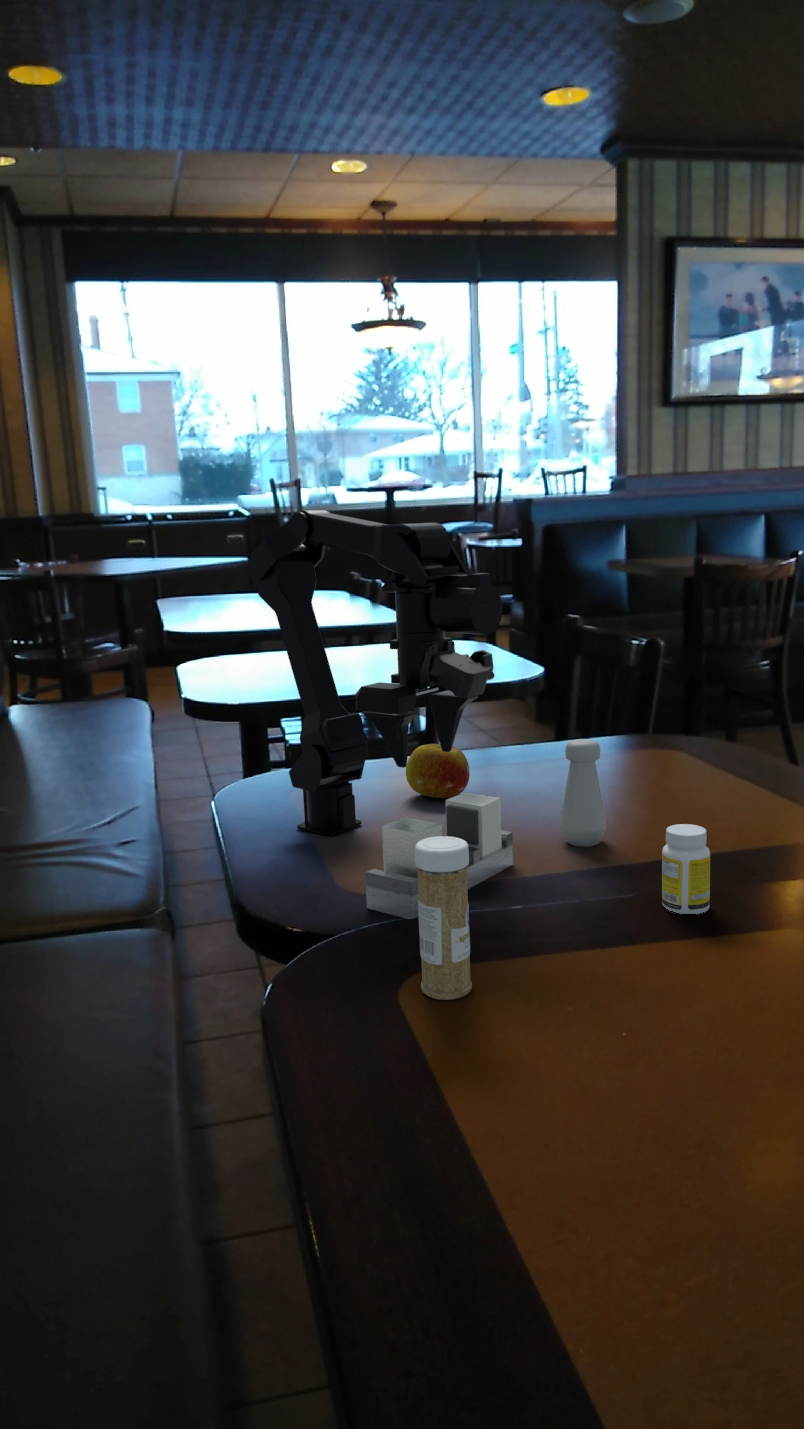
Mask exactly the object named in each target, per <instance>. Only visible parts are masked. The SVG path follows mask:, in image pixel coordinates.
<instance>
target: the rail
mask: <svg viewBox="0 0 804 1429" xmlns="http://www.w3.org/2000/svg"><path fill="white" fill-rule="evenodd" d="M381 834H382V835H381V836H382V860H383V864H382V865H383V870H381V869H376V868H371V869H370V870H368V871H366V886H365V894H366V895H365V897H366V909H368V910H372V911H376V912H380V913H383V914H388V915H391V916H395V917H400V918H403V919H407V920H410V919H413V918H415V919H416V918H419V911H418V898H419V894H418V871H417V866H416V864H415V846H416V844H417V843H418V842H419V841H421V840H423V839H426V838H430V837H438V836H443V823H438V822H433V821H430V820H423V819H418V818H412V817H407V816H404V817H401V818H399V819H396V820H394V821H391V822H389V823H386V824H384V825H381ZM501 837H502V848H500V849H498V850H496V851H494V852H492V853H490V854H488V855H486V856H484V857H480V849H479V848H474V847H469V846H468V849H469V864H468V865H467V867H468V868H467V890H470V889H471V888H473V887H474V886H477V885H478V884H480V883H482V882H484V881H486V880H488V879H490V878H491V877H493V876H495V875H497V874H498V873H500V872H502V871H504V870H506V869H508V868H509V867H511V866H513V865H514V847H513V844H514V840H513V839H514V838H513V837H514V836H513V831H508V830H503V829H501ZM413 920H414V919H413Z"/></svg>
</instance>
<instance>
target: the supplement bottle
mask: <svg viewBox="0 0 804 1429" xmlns="http://www.w3.org/2000/svg"><path fill="white" fill-rule="evenodd" d="M665 830H666V831H665V843H666V844H665V845H664V846H663V848H662V851H661V860H662V861H661V883H662V884H661V889H662V890H661V904H662V907H663V906H664V907H665V908H666V909H668V910H669V911H668V910H667V911H668V912H670V911H673V912H676V913H679V915H683V914H696V915H701V914H704V913H706V912H707V911H709V909H710V906H711V905H710V904H711V900H710V899H711V851H710V849H709V848H708V846H706V845H707V840H708V839H707V829H706V828H704V827H702V826H700V825H697V824H690V823H682V824H680V823H679V824H672V825H670V826H668V827H667V828H666V829H665ZM664 907H663V908H664ZM665 908H664V909H665ZM666 909H665V910H666ZM673 912H672V913H673ZM703 912H704V913H703ZM676 913H675V914H676ZM700 913H701V914H700Z"/></svg>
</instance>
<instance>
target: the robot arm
mask: <svg viewBox="0 0 804 1429" xmlns="http://www.w3.org/2000/svg"><path fill="white" fill-rule="evenodd" d="M326 547H330V548H336V549H341V550H344V551H349V552H352V553H357V554H362V555H364V556H365V555H366V556H369V557H371V558H373V559H374V560H375V561H376V562H377V564H378V565H379V566H382V567H383V568H385V569H387V570H389V571H390V572H391V571H392V572H393V573H392V574H391V577H389V579H388V580H387V581H386V582H384V583H383V585H382V586H381V592H383V593H395V594H394V595H395V596H394V597H395V598H394V599H395V618H396V619H395V623H396V639H391V640H389V649H390V650H396V652H397V653H396V654H397V669H398V670H397V672H396V673H394V674H391V675H390V682H379V681H378V682H375V683H372V684H371V683H370V684H368V685H362V686H360V687H359V689H358V690H357V691H356V692H355V708H356V709H355V710H356V711H358V712H363V717H368V718H369V719H370V721H371V723H372V724H373V725H374V728H376V730H377V731H378V733H379V735H380V737H381V738H382V740H383V742H384V744H385V746H386V748H387V750H388V752H389V753H390V755H391V756H392V759H393V761H394V763H395V764H396V766H397V767H398V768H403V769H404V768H406V766H407V762H408V758H409V757H408V756H409V753H408V752H409V729H410V728H409V727H410V723H411V722H412V721H413V720H414V719H415V717H416V716H417V715H418V711H413V710H414V707H415V706H416V704H417V699H419V698H420V699H421V698H423V697H428V700H429V705H430V708H431V712H432V717H433V720H434V725H435V730H436V735H437V738H438V742H439V744H440V745H441V748H442V751H443V752H450V751H451V749H452V747H454V746H453V745H454V742H455V738H456V735H457V732H458V728H459V725H460V721H461V719H462V715H463V713H464V710H465V708H467V707H468V706H469V705H470V703H472V702H473V701H474V700H476V699H477V698H478V697H479V696H481V695H483V694H484V692H485V688H486V685H487V681H490V680H494V678H495V673H494V660H493V654H492V653H491V652H489V651H486V650H485V649H481V650H477V651H474V652H473V653H471V655H470V654H467V653H466V654H460V653H458V652H456V648H455V641H454V640H453V637H446V633H454V634H468V635H482V636H483V635H484V636H485V635H486V636H487V635H490V634H492V633H493V632H495V631H496V630H497V628H498V627H499V625H500V624H501V620H502V618H503V611H504V610H503V609H504V605H503V604H504V603H503V600H502V599H501V596H500V593H499V591H498V589H497V588H496V587H495V586H494V585H493V584H492V583H491V574H490V573H489V572H480V573H471V574H470V572H469V571H468V568H467V567H466V566H465V564H464V562H463V560H462V558H461V557H460V555H459V554H458V552H457V551H456V548H455V547H454V545H453V544H452V542H451V539H450V536H449V534H448V532H447V529H446V527H445V526H443V524H440V523H437V522H422V523H421V522H420V523H419V522H417V523H414V522H413V523H397V524H395V523H394V524H393V523H392V524H387V523H381V522H378V521H372V520H367V519H361V518H357V517H352V516H346V515H341V514H337V513H336V514H335V513H331V512H329V511H328V510H325V509H314V510H313V509H309V510H308V509H307V510H306V509H305V510H299V511H297V512H294V514H293V515H291V517H290V518H289V520H288V521H287V522H286V523H285V524H283V525H281V527H278V529H276V530H275V531H273V532H272V533H270V534H269V535H267V536H265V538H264V539H263V540H262V541H261V542H260V543H259V544H258V545H257V546H256V547H254V550H253V551H252V552H251V556H250V557H249V558H248V563H247V564H248V570H249V575H250V577H251V578H250V579H251V580H252V582H253V584H254V587H255V589H256V592H257V594H258V596H259V597H260V598H261V600H262V601H264V602H265V603H266V605H267V606H268V607H269V608H271V610H273V611H274V613H275V615H276V619H277V621H278V626H279V629H280V633H281V636H282V640H283V645H284V646H285V650H286V653H287V654H286V655H287V658H288V660H289V664H290V667H291V671H292V675H293V678H294V681H295V684H296V688H297V692H298V695H299V696H298V697H299V699H300V702H301V705H302V709H303V713H304V717H303V721H302V722H303V723H302V725H301V731H300V734H299V742H300V749H301V754H300V756H299V757H298V759H297V760H296V761H295V763H294V764H293V765H292V767H290V769H289V771H288V775H289V778H290V781H291V782H290V783H291V785H292V787H293V788H295V789H300V790H302V797H303V799H302V800H303V814H304V816H303V817H304V822H302V823H299V824H297V825H296V829H297V828H298V830H300V829H301V831H305V830H306V831H307V832H310V833H311V832H312V833H315V834H320V835H325V836H331V837H332V836H336V835H338V834H341V833H343V832H346V831H347V830H351V829H352V828H356V827H359V826H361V825H362V822H363V821H362V820H360V819H356V817H357V816H356V799H355V798H356V797H355V794H353V793H354V792H353V783H352V781H355V780H358V781H359V780H361V779H362V776H363V772H364V767H365V764H366V760H367V758H368V757H369V748H368V744H367V743H370V739H369V737H368V736H367V734H366V731H365V727H364V723H363V722H364V721H363V718H362V716H361V715H360V713H358V712H356V713H352V714H351V713H350V712H349V711H348V710H347V709H346V708H344V706H343V705H342V703H341V700H340V696H339V693H338V690H337V685H336V683H335V679H334V677H333V672H332V669H331V665H330V662H329V659H328V655H327V652H326V648H325V645H324V642H323V638H322V635H321V632H320V628H319V625H318V624H319V623H318V622H317V617H316V613H315V610H314V606H313V597H314V593H315V590H316V585H317V576H316V570H315V568H316V567H317V566H319V564H320V563H321V562H322V561H323V560H324V558H325V555H326ZM306 831H305V832H306Z"/></svg>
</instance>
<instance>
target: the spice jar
mask: <svg viewBox="0 0 804 1429" xmlns="http://www.w3.org/2000/svg"><path fill="white" fill-rule="evenodd" d="M415 864H416V866H417V871H418V894H419V898H418V911H419V916H418V929H419V930H418V932H419V955H420V958H421V963H420V964H421V982H420V983H421V984H420V990H421V992H422V993H423V994H425V995H426V996H428V997H429V998H432V999H433V1000H434V999H435V1000H439V1001H440V1000H441V1001H443V1000H445V1001H449V1000H450V1001H452V1000H457V999H460V998H463V997H464V996H466V995H468V994H469V993H470V992H471V990H472V988H473V982H472V979H471V960H470V959H471V955H470V954H471V938H470V937H471V935H470V919H469V918H470V916H469V915H470V914H469V912H470V910H469V909H470V908H469V907H470V906H469V901H468V898H469V896H468V892H469V891H468V890H469V889H468V890H467V868H468V867H467V865H468V864H469V849H468V844H467V842H466V841H465V840H463V839H460V838H456V837H449V836H447V835H446V836H445V835H444V836H443V835H442V836H438V837H430V838H426V839H423V840H421V841H419V842H418V843H417V844H416V846H415Z"/></svg>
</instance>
